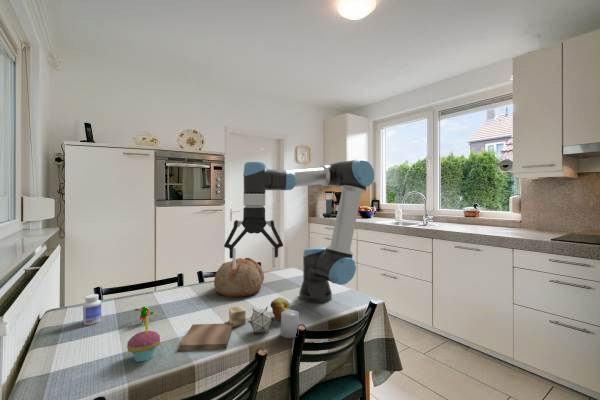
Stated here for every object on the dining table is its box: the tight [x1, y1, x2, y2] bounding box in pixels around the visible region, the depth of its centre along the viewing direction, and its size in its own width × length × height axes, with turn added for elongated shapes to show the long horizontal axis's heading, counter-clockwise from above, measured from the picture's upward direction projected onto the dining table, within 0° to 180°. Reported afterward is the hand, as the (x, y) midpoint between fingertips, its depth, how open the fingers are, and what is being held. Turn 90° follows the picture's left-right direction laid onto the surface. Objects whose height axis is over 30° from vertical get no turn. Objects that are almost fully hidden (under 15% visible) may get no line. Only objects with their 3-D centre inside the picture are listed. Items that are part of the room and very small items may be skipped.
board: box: [179, 322, 234, 351], centre depth 95 cm, size 14×14×2 cm
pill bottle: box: [82, 293, 102, 326], centre depth 105 cm, size 5×5×10 cm
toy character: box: [133, 305, 156, 326], centre depth 105 cm, size 11×12×7 cm
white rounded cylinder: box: [280, 309, 300, 339], centre depth 98 cm, size 6×6×7 cm
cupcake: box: [126, 313, 161, 363], centre depth 83 cm, size 9×8×12 cm
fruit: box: [270, 297, 291, 321], centre depth 110 cm, size 8×8×8 cm
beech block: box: [228, 305, 246, 327], centre depth 107 cm, size 5×5×5 cm
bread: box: [213, 257, 265, 298], centre depth 144 cm, size 26×23×15 cm
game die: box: [247, 306, 275, 335], centre depth 99 cm, size 9×8×10 cm
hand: (253, 267), depth 101 cm, fingers open, 13 cm apart
